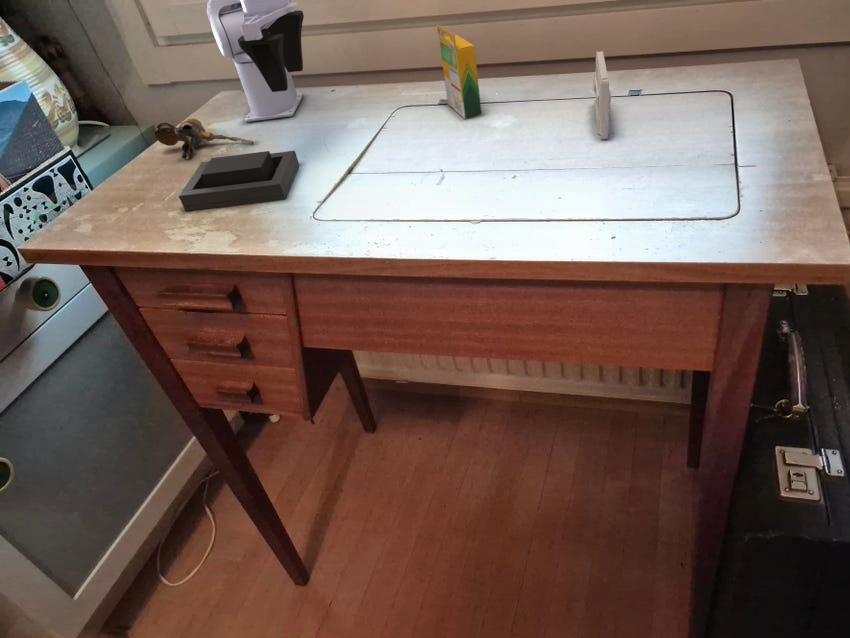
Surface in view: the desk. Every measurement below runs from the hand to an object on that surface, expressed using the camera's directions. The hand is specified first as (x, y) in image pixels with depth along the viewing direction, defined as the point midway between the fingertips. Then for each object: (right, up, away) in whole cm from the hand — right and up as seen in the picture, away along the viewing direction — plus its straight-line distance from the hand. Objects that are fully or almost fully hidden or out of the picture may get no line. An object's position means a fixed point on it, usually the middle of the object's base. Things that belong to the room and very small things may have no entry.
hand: (288, 80), depth 91 cm
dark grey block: (-5, -15, -3) cm, 16 cm away
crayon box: (+24, -1, +10) cm, 26 cm away
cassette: (+43, -6, 0) cm, 44 cm away
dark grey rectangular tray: (-5, -15, -2) cm, 16 cm away
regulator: (-15, -6, +11) cm, 20 cm away
